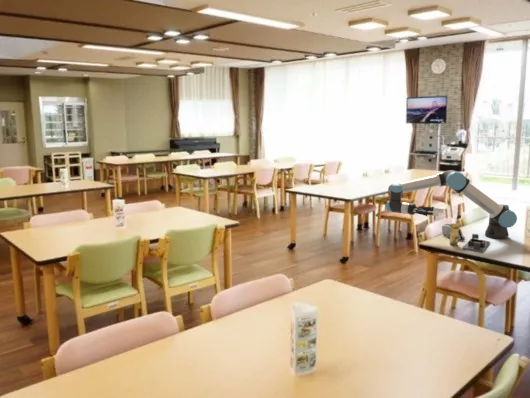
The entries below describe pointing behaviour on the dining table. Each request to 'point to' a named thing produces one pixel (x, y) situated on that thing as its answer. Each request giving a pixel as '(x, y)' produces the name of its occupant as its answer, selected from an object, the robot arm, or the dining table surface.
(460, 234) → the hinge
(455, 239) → the coupler
